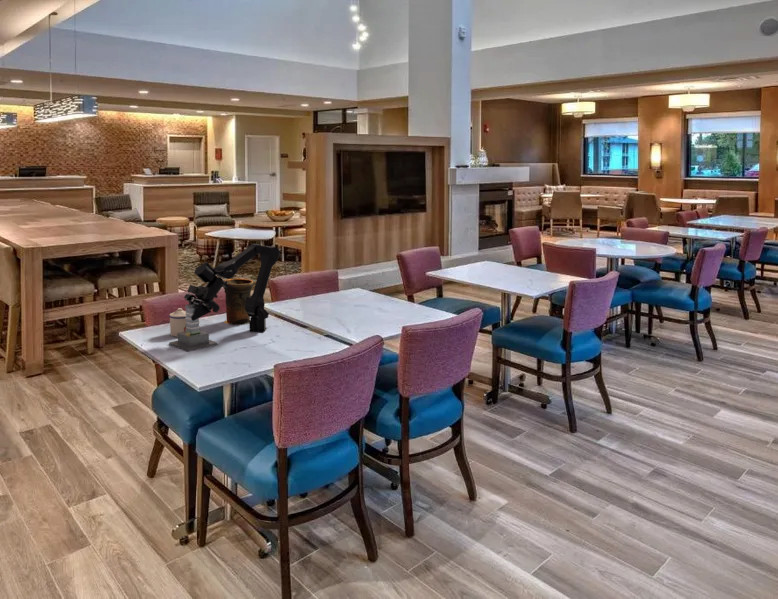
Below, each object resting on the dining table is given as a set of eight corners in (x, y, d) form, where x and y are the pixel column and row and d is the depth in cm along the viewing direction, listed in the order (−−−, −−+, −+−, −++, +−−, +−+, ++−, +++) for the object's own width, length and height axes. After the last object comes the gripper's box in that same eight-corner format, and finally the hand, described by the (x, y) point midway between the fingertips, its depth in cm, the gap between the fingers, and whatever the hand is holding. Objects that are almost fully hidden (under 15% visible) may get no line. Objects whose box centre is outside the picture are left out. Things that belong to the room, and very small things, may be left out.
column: (195, 331, 263) (194, 303, 261) (200, 332, 261) (199, 304, 258) (185, 333, 260) (184, 304, 257) (190, 334, 257) (189, 306, 255)
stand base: (198, 338, 271) (198, 324, 270) (217, 344, 262) (217, 331, 261) (169, 344, 261) (168, 330, 259) (187, 351, 252) (187, 337, 251)
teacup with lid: (188, 337, 273) (187, 311, 270) (167, 336, 272) (165, 310, 270) (196, 330, 284) (195, 305, 282) (176, 329, 284) (174, 304, 282)
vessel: (245, 316, 312) (245, 276, 307) (259, 323, 301) (258, 282, 296) (218, 320, 303) (217, 279, 298) (230, 327, 292) (230, 285, 287)
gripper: (186, 274, 264) (164, 304, 259) (212, 280, 253) (189, 311, 247) (203, 290, 272) (182, 319, 266) (229, 297, 260) (207, 327, 254)
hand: (189, 319), depth 258 cm, fingers closed on column, 4 cm apart
